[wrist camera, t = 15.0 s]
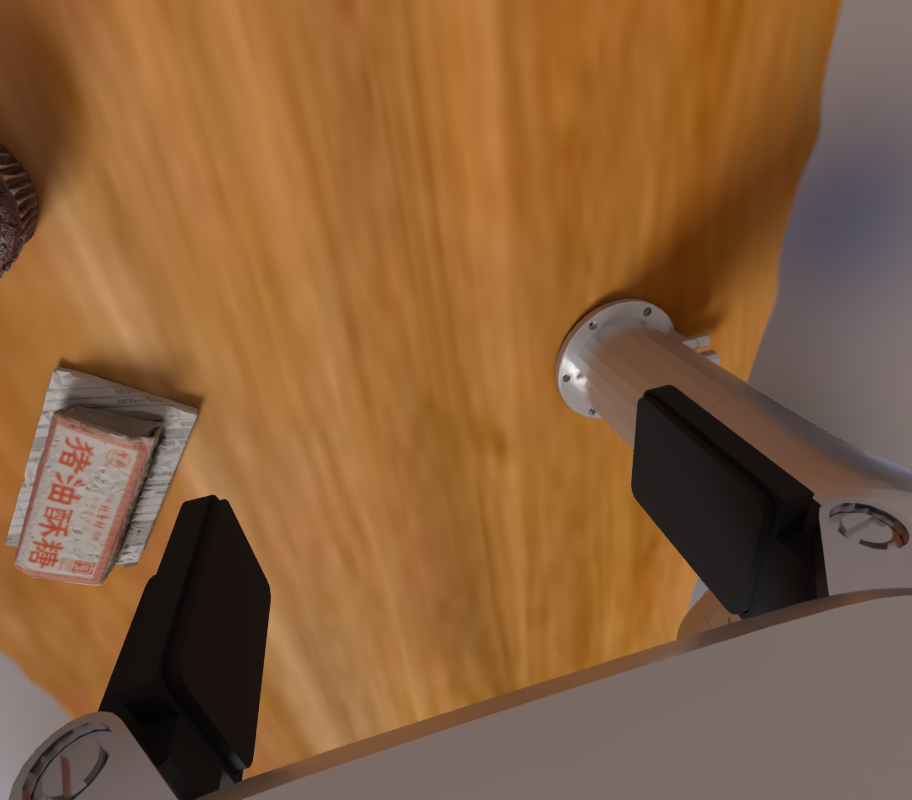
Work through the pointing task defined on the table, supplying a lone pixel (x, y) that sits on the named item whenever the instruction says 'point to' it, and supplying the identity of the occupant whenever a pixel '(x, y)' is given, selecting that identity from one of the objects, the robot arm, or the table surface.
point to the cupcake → (14, 209)
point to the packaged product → (95, 477)
